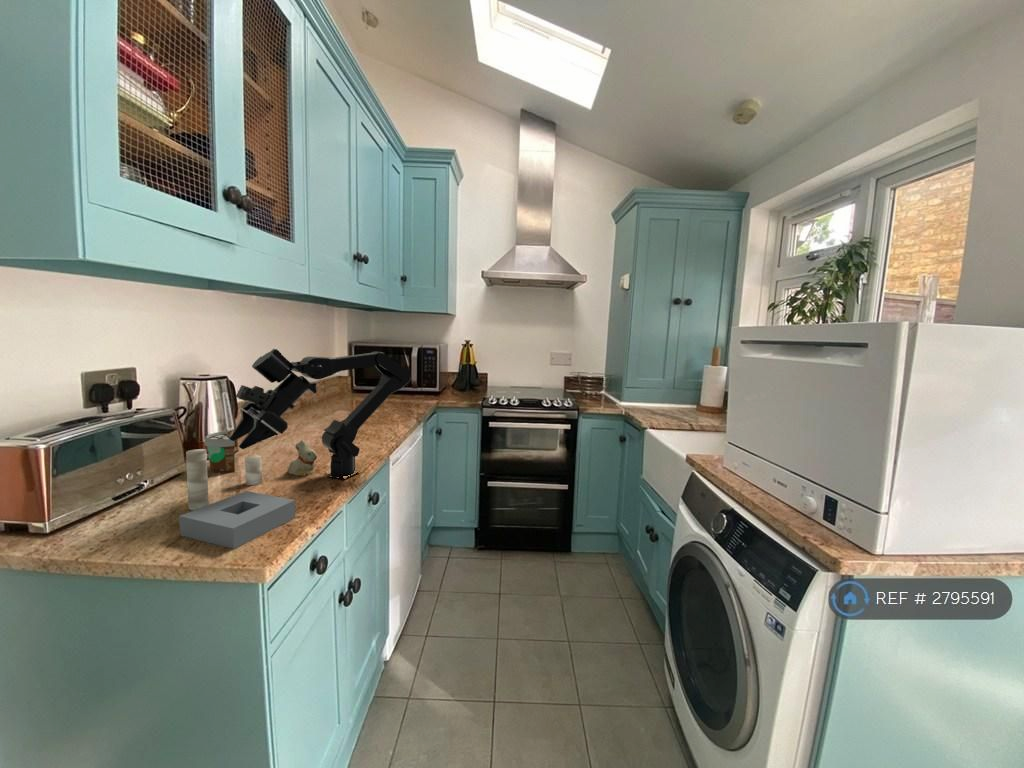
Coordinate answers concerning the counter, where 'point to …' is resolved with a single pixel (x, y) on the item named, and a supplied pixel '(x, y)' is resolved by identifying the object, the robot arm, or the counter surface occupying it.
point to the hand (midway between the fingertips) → (235, 443)
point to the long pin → (197, 478)
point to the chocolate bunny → (303, 460)
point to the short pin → (253, 470)
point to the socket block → (237, 519)
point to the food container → (220, 452)
